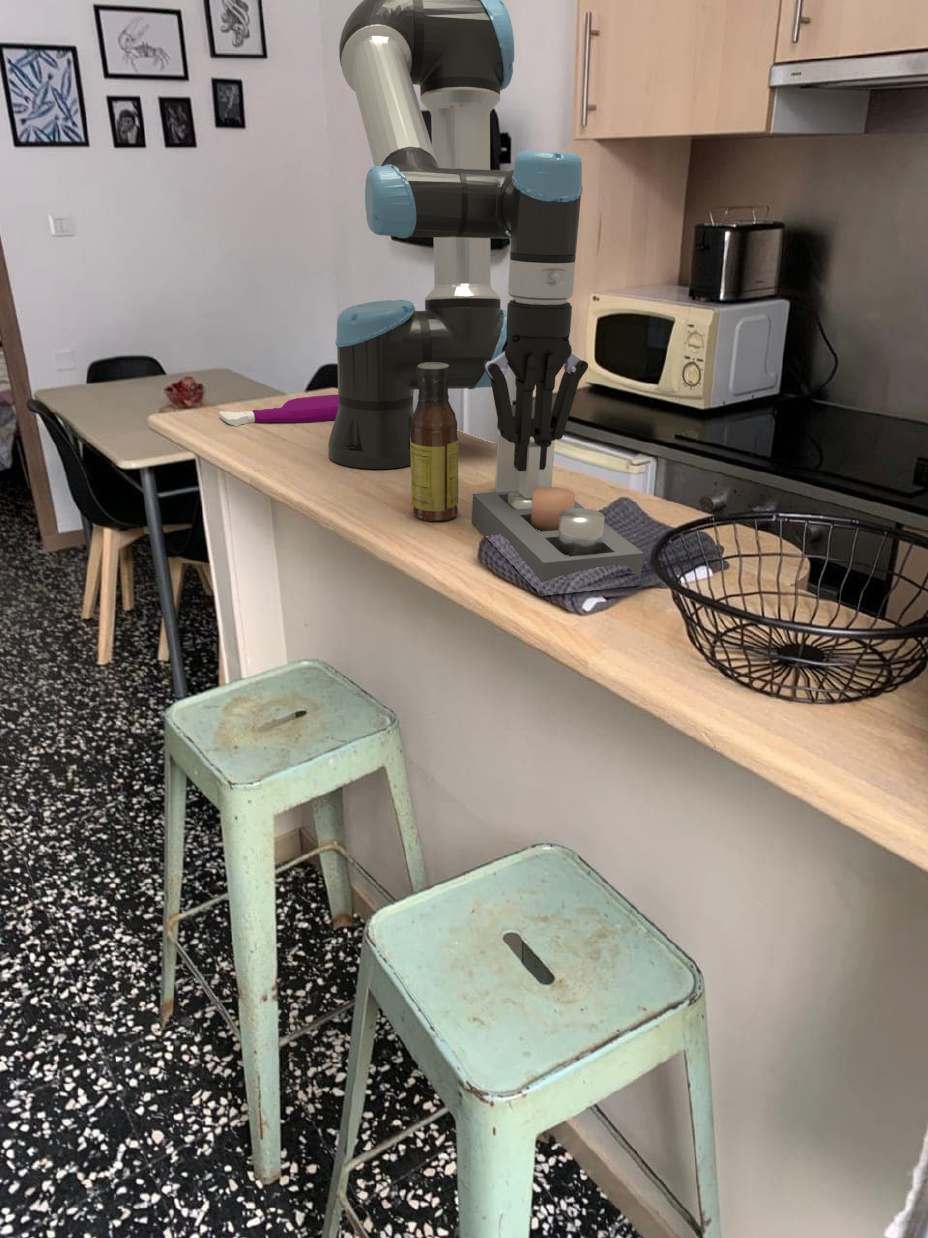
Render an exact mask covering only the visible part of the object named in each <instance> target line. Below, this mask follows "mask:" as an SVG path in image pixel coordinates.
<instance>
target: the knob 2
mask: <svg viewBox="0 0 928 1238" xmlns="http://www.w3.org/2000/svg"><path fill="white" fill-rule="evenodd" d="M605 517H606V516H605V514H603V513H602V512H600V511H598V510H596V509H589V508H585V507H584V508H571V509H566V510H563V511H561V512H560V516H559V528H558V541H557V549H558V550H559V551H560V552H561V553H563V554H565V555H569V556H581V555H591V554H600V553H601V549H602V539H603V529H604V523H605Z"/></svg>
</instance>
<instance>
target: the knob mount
mask: <svg viewBox="0 0 928 1238" xmlns="http://www.w3.org/2000/svg"><path fill="white" fill-rule="evenodd" d="M511 492H513V491H506V492H495V491H494V492H482V493H479V492H478V493H472V501H471V502H472V503H471V505H472V506H471V524H472V525H473V527H475V529H477V531H479V533H480V534H481V535H482V536H483V537H484V538H485V537H486V536H491V535H499V534H501V535H502V536H503V537H505V538H506V539H507V540H508V541H509V542H510V544H511V545H512V546H513V548H514V549H515V550H516V552H517V553H518V554H519V556H520V557H521V558H522V560H523V561H525V563H527V565H528V566H529V567H530V568H531V569H532V570H533V572H534V573H535V575H536V576H537V577H538V578H539V579H540V581H541V582H542V583H543V582H545V581H548V580H550V579H552V578H556V577H559V576H562V575H563V576H564V575H569V574H572V573H575V572H577V571H583V570H588V569H591V568H592V569H593V568H596V567H602V566H609V565H612V566H613V565H625V566H629V567H630V568H631V569H630V570H632V571H630V572H632V573H630V574H635V575H636V576H639V577H641V578H642V572H643V571H642V570H643V563H644V552H643V551H642V550H641V549H639V548H638V547H636V546H635V545H634V544H633V543H631V542H630V541H629V540H627V538H625V537H624V536H622V535H620V533H618V532H617V531H616V530H614V529H613V528H612V527H610V526H609V525H608V524H606V523H605V522H604V529H603V539H602V549H601V553H600V554H591V555H581V556H570V557H565V556H564V555H563V554H562V553H561V552H560V551H559V550H558V549H557V541H558V530H553V531H542V532H538V531H537V530H536V529H535V528H533V527H532V526H531V512H532V508H529V509H516V510H513V509H512V508H511V507H510V506H509V505H508V494H509V493H511ZM574 508H585V507H584V506H583V505H582V504H580V503H579V502H578V501H576V500H575V501H574Z"/></svg>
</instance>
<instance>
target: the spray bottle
mask: <svg viewBox="0 0 928 1238" xmlns="http://www.w3.org/2000/svg"><path fill="white" fill-rule="evenodd" d="M337 411H338V394H328V395H326V394H325V395H311V396H304V397H297V398H292V399H289V400H287V401H286V402H285V403H283V405H282V406H281V407H273V408H264V409H253V410H250V411H248V410H245V411H241V412H236V411H224V410H221V411H219V412H218V415H219V418H220V419H221V420H223V421H224V422H226V423H227V424H229V425H231V426H234V427H239V426H240V425H244V424H245V425H246V424H253V423H256V424H305V423H307V424H308V423H309V424H310V423H320V422H321V423H322V422H323V423H324V422H331V421H332V422H333V421H334V422H335V418H336V415H337Z"/></svg>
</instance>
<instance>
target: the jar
mask: <svg viewBox="0 0 928 1238" xmlns="http://www.w3.org/2000/svg"><path fill="white" fill-rule="evenodd" d="M515 405H516V404H511V408H512V414H513V420H514V423H515ZM552 410H553V408H552ZM552 410H551V413H552ZM534 412H535V404H532V416H531V431H530V441H533V442H534V439H533V429H534ZM496 427H497V430H496V431H497V434H496V435H497V436H496V455H495V456H496V457H495V474H494V475H495V477H494V492H506V491H519V478H520V471H518V470H517V469H515V467H514V450H515V444H514V443H512V442H509V441H507V440H506V439H504V438H503V437H502V436H501V434H500V429H499V423H498V421H497V426H496ZM551 442H552V443H551V445H550V446H549V447H547V458H546V467H545V469H544V470H539V481H538V488H542V487H553V486H552V485H553V473H554V472H553V471H554V462H555V446H556V443H555V442H556V440H553V441H551Z"/></svg>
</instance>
